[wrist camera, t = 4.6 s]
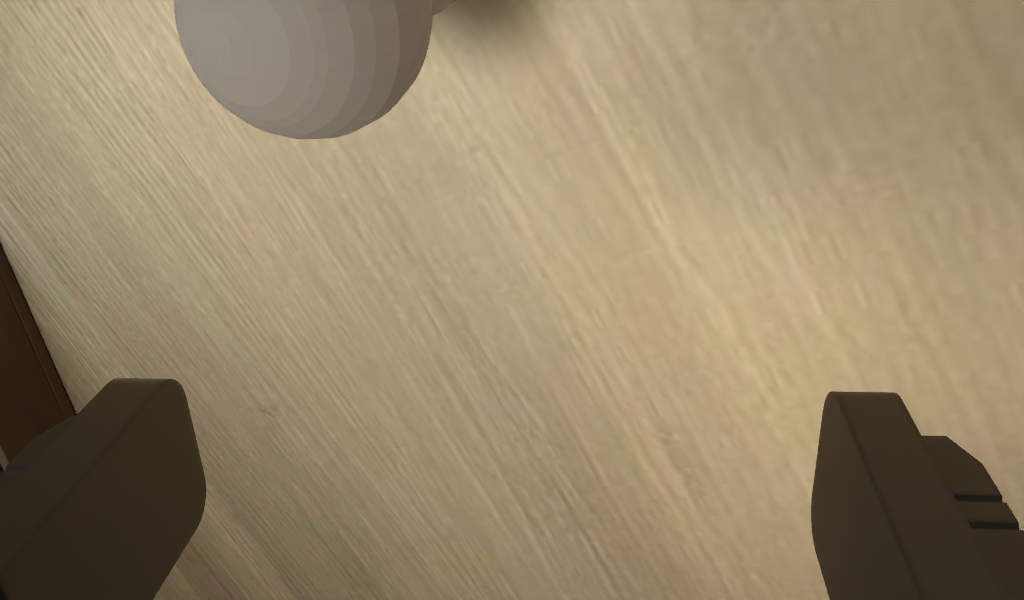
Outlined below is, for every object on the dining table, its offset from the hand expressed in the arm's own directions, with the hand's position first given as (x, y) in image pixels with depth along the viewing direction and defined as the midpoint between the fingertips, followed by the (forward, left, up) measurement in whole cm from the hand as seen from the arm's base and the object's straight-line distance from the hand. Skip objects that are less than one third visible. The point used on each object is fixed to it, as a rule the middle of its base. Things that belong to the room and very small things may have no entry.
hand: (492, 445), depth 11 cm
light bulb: (+4, +8, -16) cm, 19 cm away
